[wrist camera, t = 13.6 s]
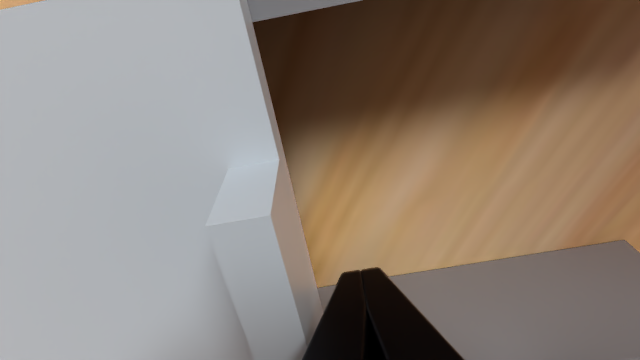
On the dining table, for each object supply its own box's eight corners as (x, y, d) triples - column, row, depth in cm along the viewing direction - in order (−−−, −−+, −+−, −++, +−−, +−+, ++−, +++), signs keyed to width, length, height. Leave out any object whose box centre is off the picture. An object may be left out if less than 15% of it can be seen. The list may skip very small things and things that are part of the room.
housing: (620, 260, 17) (733, 367, 12) (60, 346, 18) (-21, 468, 14) (690, -127, 11) (950, -189, 6) (-138, 47, 13) (-385, 93, 8)
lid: (349, 421, 13) (359, 531, 10) (10, 467, 14) (-57, 580, 11) (237, -39, 7) (198, -41, 5) (-341, 83, 8) (-641, 138, 5)
